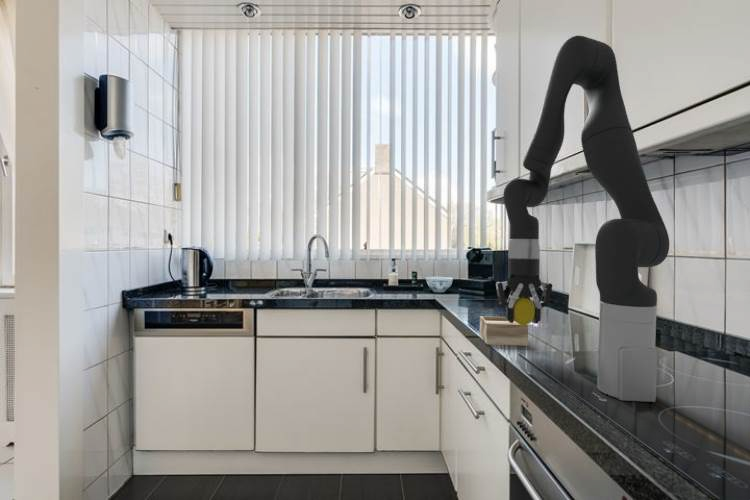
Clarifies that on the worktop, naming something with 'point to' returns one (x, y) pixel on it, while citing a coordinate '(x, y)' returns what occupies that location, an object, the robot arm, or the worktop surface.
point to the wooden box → (502, 331)
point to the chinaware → (439, 283)
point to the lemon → (523, 311)
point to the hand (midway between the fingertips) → (523, 322)
